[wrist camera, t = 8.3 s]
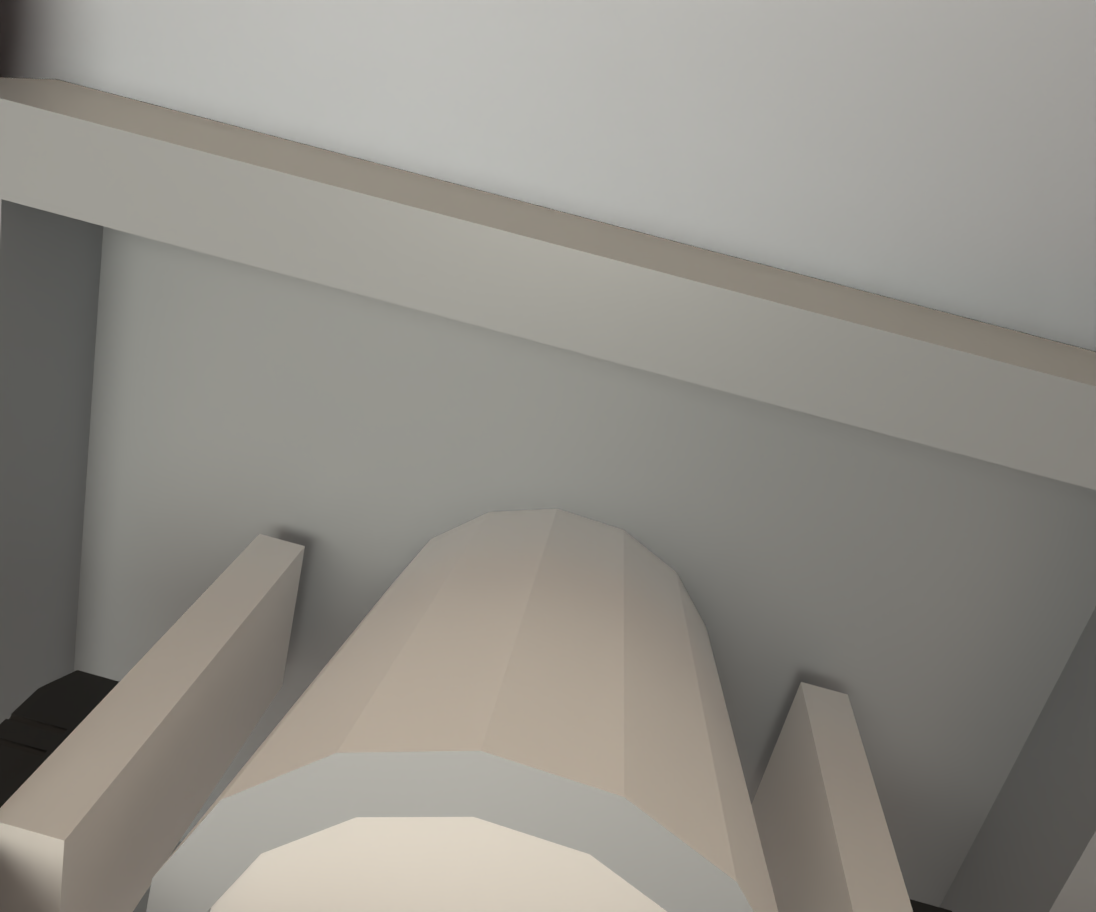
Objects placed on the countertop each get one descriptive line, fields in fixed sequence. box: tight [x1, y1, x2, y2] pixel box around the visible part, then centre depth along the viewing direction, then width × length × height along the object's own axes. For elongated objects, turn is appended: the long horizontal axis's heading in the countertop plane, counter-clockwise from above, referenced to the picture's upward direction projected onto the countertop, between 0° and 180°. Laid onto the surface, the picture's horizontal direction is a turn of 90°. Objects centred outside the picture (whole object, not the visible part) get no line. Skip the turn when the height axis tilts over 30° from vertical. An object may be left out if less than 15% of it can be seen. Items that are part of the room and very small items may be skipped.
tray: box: [0, 77, 1096, 912], centre depth 15 cm, size 18×14×3 cm
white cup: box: [146, 509, 778, 912], centre depth 13 cm, size 7×7×7 cm
